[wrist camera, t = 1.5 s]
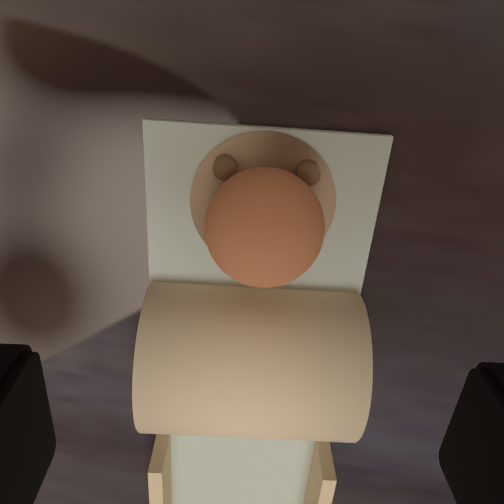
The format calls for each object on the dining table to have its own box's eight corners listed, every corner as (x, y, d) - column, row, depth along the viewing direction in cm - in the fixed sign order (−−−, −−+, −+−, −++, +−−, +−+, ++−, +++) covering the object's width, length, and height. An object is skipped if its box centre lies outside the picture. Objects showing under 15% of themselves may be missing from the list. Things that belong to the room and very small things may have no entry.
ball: (323, 156, 20) (344, 195, 15) (309, 256, 22) (324, 315, 18) (210, 148, 20) (198, 186, 15) (208, 250, 22) (197, 308, 18)
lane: (376, 122, 22) (434, 170, 15) (295, 549, 39) (305, 666, 32) (155, 107, 22) (109, 149, 15) (168, 544, 39) (150, 662, 32)
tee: (345, 135, 20) (350, 142, 19) (324, 270, 23) (327, 281, 22) (190, 125, 20) (187, 130, 19) (190, 262, 23) (187, 273, 22)
